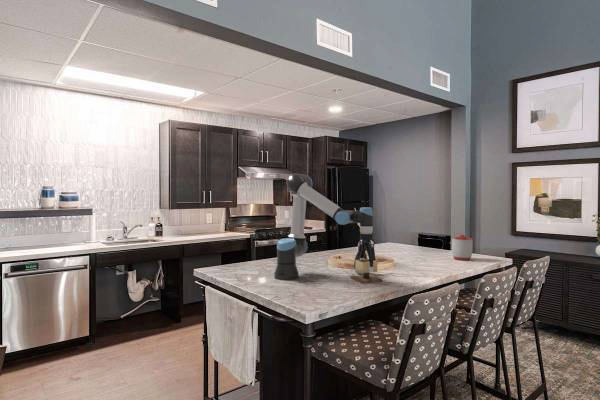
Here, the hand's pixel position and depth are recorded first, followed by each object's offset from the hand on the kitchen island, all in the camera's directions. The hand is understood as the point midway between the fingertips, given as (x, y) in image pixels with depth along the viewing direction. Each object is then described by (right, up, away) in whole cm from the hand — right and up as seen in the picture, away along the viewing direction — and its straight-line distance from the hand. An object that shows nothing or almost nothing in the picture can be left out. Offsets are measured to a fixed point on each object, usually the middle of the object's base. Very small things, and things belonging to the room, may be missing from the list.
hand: (366, 270), depth 219 cm
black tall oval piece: (0, -6, +18) cm, 19 cm away
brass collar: (0, 0, 0) cm, 0 cm away
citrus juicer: (+88, -5, +71) cm, 114 cm away
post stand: (0, -6, 0) cm, 6 cm away
